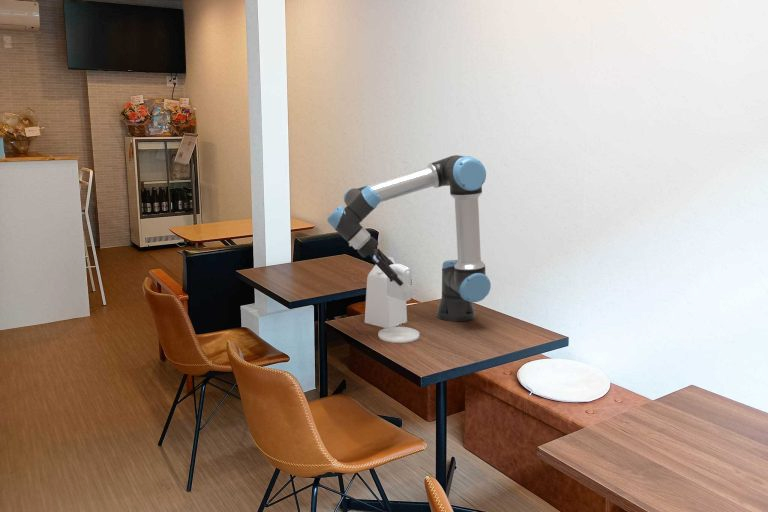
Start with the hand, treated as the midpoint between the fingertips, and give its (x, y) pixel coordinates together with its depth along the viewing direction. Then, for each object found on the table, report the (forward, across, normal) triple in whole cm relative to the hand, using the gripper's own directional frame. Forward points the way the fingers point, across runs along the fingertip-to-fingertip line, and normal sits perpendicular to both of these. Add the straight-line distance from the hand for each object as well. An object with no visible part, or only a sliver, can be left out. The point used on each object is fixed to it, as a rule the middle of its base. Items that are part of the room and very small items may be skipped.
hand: (408, 287), depth 235 cm
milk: (+8, -18, -19) cm, 27 cm away
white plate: (+11, -1, -16) cm, 19 cm away
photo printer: (+1, 0, -5) cm, 5 cm away
